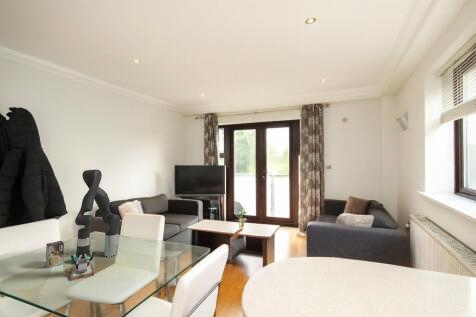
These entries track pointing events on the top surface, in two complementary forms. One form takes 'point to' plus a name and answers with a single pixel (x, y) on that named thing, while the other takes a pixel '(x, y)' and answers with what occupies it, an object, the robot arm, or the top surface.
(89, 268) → the walnut stand
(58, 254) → the coffee box
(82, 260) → the housing
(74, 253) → the camera mount
